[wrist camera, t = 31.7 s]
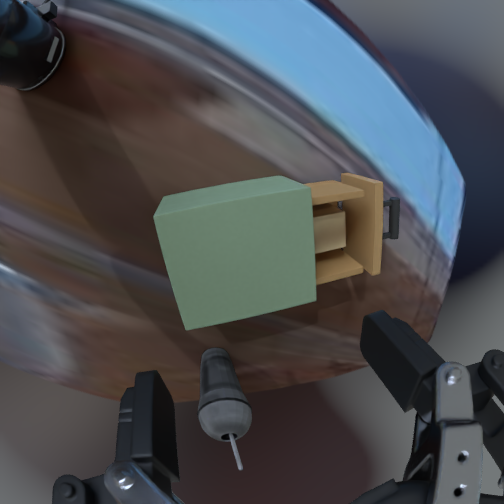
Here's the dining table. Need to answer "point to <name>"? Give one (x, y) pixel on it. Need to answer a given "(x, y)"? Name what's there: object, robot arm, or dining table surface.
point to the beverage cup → (222, 400)
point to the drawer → (355, 226)
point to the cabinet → (238, 249)
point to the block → (328, 227)
